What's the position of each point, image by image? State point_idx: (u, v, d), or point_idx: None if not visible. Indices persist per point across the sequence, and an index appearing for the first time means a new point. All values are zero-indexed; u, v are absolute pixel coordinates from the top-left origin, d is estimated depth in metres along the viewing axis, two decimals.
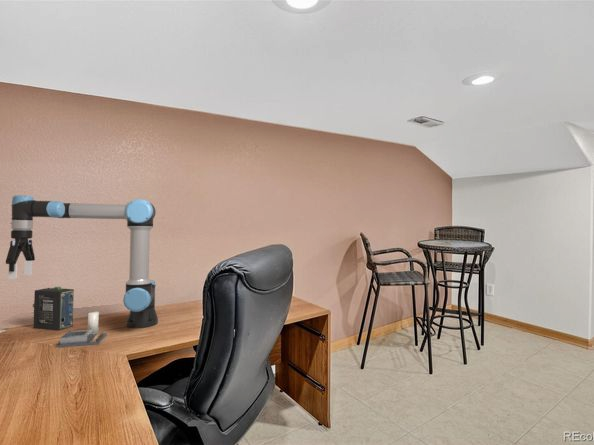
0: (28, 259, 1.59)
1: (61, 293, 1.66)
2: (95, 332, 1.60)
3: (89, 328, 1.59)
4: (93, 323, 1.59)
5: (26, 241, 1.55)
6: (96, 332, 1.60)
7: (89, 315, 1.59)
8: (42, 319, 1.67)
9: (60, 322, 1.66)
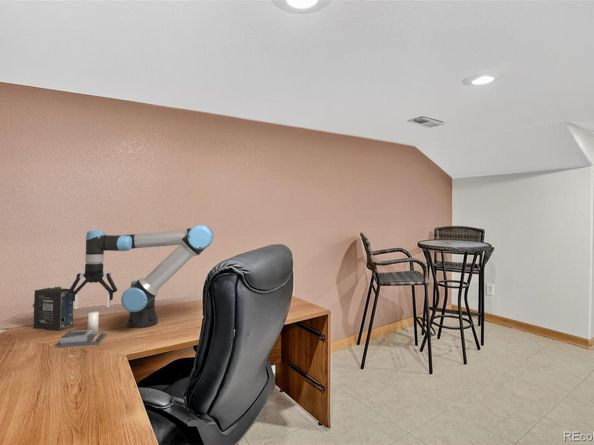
0: None
1: (61, 293, 1.66)
2: (95, 332, 1.60)
3: (89, 328, 1.59)
4: (93, 323, 1.59)
5: (97, 274, 1.61)
6: (96, 332, 1.60)
7: (89, 315, 1.59)
8: (42, 319, 1.67)
9: (60, 322, 1.66)
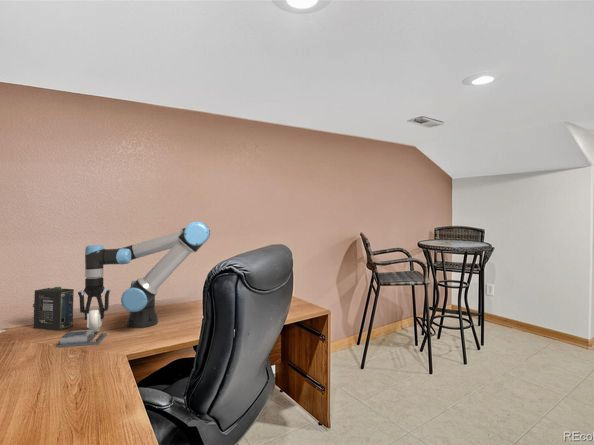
0: None
1: (61, 293, 1.66)
2: (96, 329, 1.60)
3: (90, 325, 1.59)
4: (94, 320, 1.59)
5: (98, 287, 1.61)
6: (97, 329, 1.61)
7: (90, 312, 1.59)
8: (42, 319, 1.67)
9: (60, 322, 1.66)
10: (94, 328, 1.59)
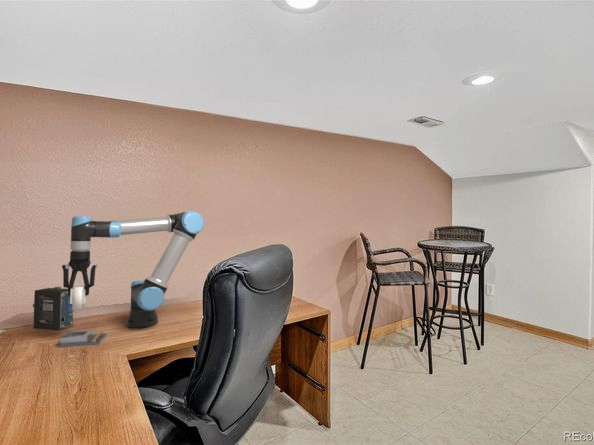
0: None
1: (61, 293, 1.66)
2: (80, 307, 1.49)
3: (74, 303, 1.48)
4: (78, 297, 1.49)
5: (84, 261, 1.50)
6: (81, 307, 1.50)
7: (74, 289, 1.49)
8: (42, 319, 1.67)
9: (60, 322, 1.66)
10: (77, 306, 1.48)
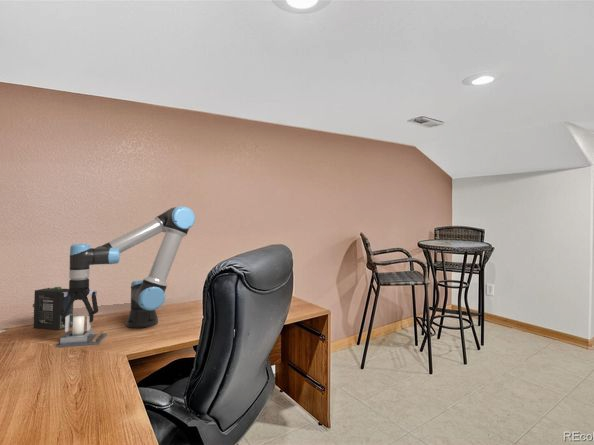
0: None
1: None
2: None
3: (74, 333, 1.48)
4: (78, 328, 1.48)
5: (83, 290, 1.50)
6: None
7: (74, 319, 1.48)
8: (42, 319, 1.67)
9: (60, 322, 1.66)
10: None
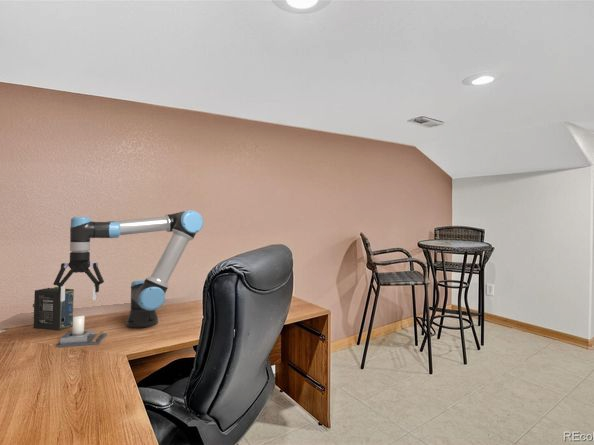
0: None
1: None
2: None
3: (74, 333, 1.48)
4: (78, 327, 1.48)
5: (83, 263, 1.50)
6: None
7: (74, 319, 1.48)
8: (42, 319, 1.67)
9: (60, 322, 1.66)
10: None
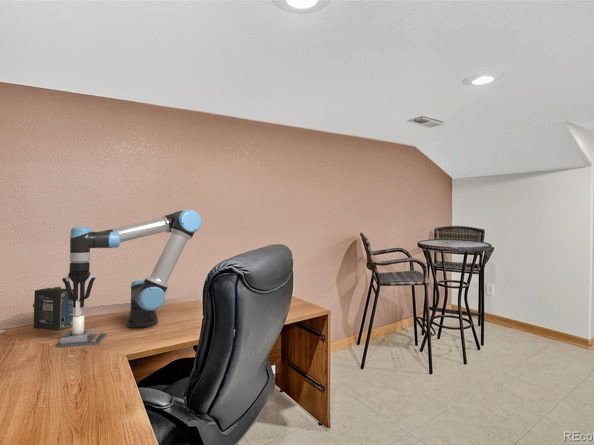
0: None
1: (61, 293, 1.66)
2: None
3: (74, 333, 1.48)
4: (78, 327, 1.48)
5: (84, 272, 1.50)
6: None
7: (74, 319, 1.48)
8: (42, 319, 1.67)
9: (60, 322, 1.66)
10: None
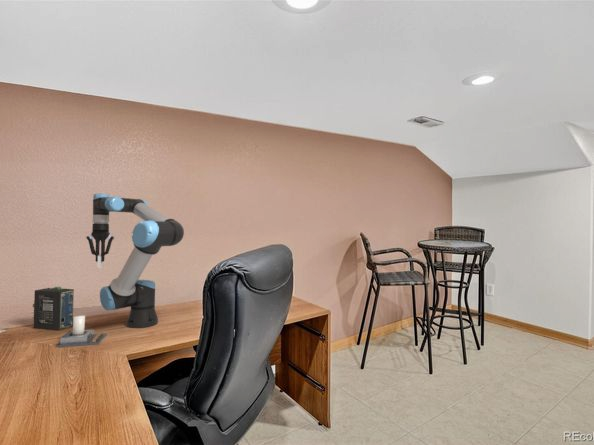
0: None
1: (61, 293, 1.66)
2: None
3: (74, 333, 1.48)
4: (79, 327, 1.48)
5: (105, 231, 1.77)
6: None
7: (75, 319, 1.48)
8: (42, 319, 1.67)
9: (60, 322, 1.66)
10: None
